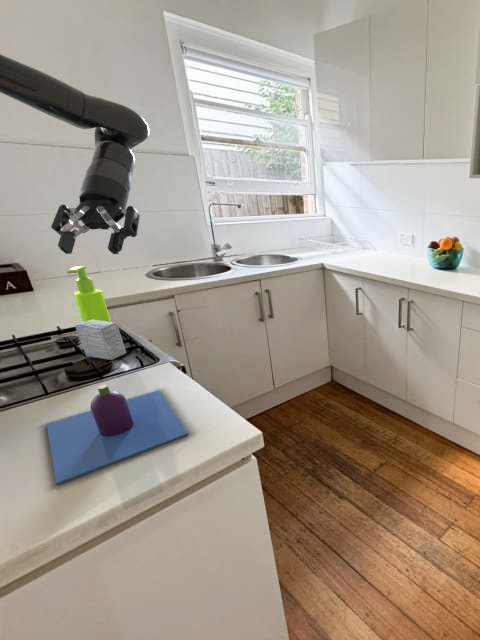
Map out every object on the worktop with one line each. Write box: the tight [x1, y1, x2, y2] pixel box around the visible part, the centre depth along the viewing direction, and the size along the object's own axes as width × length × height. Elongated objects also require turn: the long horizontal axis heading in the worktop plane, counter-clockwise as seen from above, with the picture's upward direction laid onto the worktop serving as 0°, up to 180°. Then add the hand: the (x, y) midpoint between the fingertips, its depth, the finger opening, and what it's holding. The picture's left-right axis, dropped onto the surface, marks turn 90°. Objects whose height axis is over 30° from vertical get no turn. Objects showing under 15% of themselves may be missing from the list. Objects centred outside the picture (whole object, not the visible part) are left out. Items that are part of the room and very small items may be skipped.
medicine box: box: [75, 320, 127, 361], centre depth 95 cm, size 8×4×9 cm, turn 77°
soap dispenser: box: [66, 265, 112, 323], centre depth 103 cm, size 6×7×20 cm
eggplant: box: [90, 384, 134, 436], centre depth 68 cm, size 5×5×9 cm
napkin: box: [46, 390, 189, 486], centre depth 69 cm, size 20×18×1 cm
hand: (89, 251), depth 75 cm, fingers open, 8 cm apart
